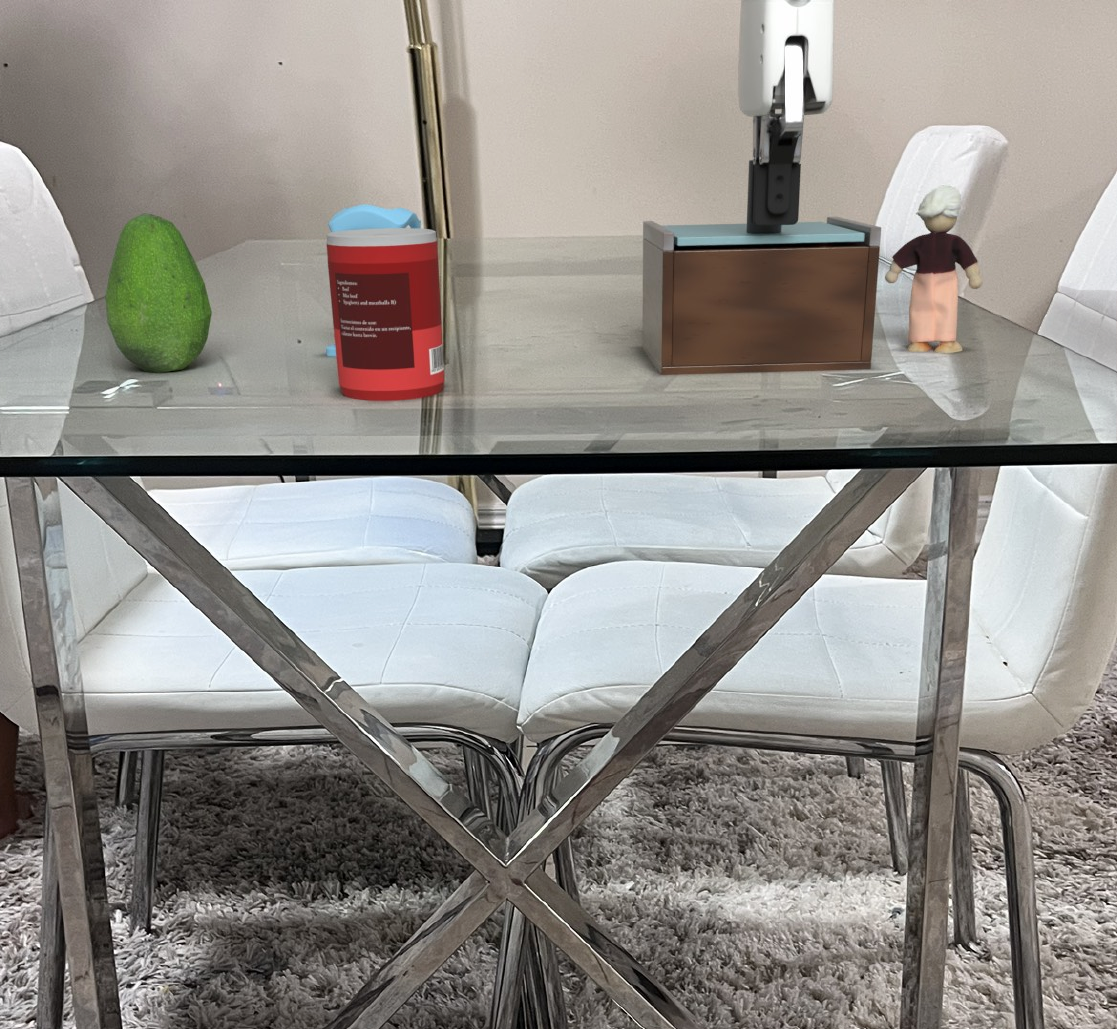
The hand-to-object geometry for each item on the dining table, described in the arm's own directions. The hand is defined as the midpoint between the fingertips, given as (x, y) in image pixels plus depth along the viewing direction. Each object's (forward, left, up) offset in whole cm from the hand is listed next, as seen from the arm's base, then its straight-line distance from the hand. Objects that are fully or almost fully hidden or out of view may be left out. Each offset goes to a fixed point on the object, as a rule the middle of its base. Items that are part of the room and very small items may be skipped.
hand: (773, 224), depth 96 cm
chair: (+30, -18, -11) cm, 36 cm away
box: (0, -8, -11) cm, 13 cm away
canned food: (+28, +3, -11) cm, 30 cm away
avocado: (+47, -10, -11) cm, 49 cm away
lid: (0, -8, -1) cm, 8 cm away
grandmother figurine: (-15, -10, -11) cm, 21 cm away
